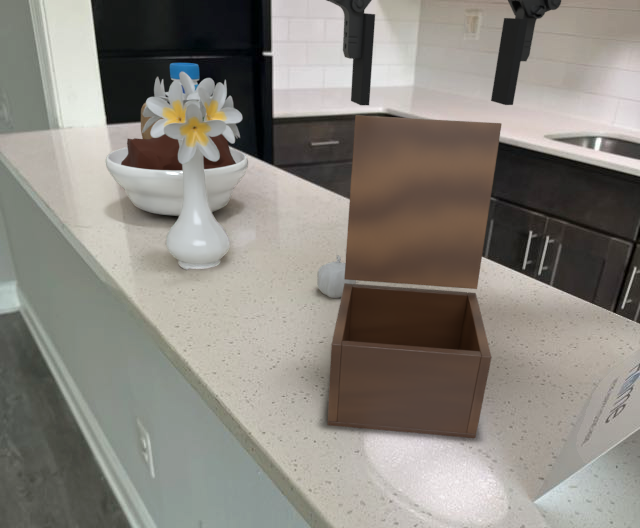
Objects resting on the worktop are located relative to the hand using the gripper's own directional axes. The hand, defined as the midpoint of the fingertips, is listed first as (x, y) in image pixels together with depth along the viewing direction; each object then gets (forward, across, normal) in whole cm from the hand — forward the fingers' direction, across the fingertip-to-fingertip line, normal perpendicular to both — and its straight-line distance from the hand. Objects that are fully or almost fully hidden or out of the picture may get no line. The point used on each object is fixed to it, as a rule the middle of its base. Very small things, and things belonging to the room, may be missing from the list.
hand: (432, 103), depth 58 cm
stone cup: (+27, -19, +93) cm, 98 cm away
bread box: (+27, -2, -6) cm, 27 cm away
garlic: (+27, -1, +22) cm, 35 cm away
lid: (+9, +1, +2) cm, 10 cm away
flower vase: (+27, -17, +37) cm, 49 cm away
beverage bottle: (+27, -10, +117) cm, 121 cm away
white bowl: (+27, -17, +67) cm, 74 cm away
